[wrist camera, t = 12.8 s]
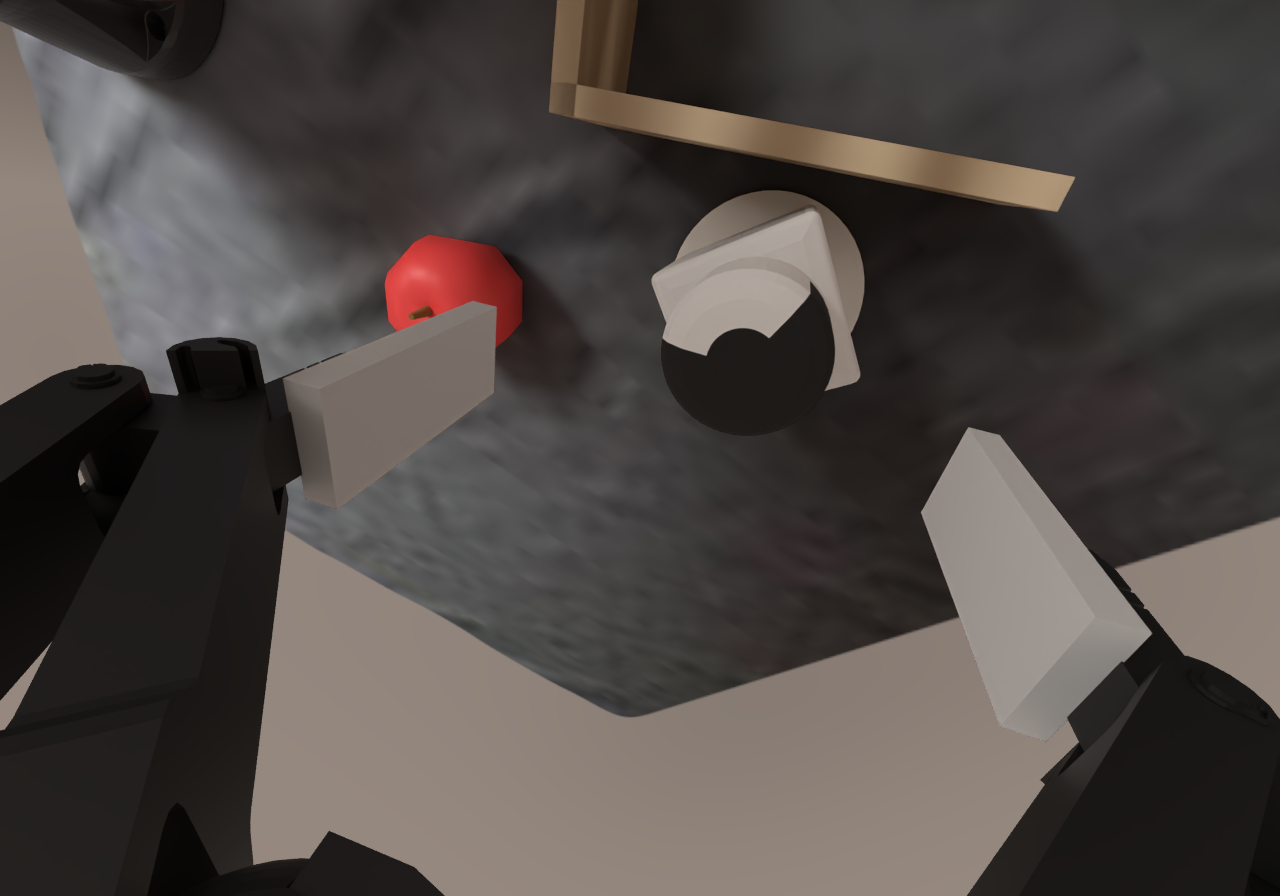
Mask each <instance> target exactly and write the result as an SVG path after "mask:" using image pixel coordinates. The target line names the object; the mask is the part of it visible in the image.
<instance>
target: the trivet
mask: <svg viewBox="0 0 1280 896" xmlns="http://www.w3.org/2000/svg"><path fill="white" fill-rule="evenodd" d="M811 204H812V205H814V206H816V208H817V210H818V212H819V214H820V216H821V219H822V223H823V227H824V231H825V235H826V239H827V243H828V247H829V251H830V255H831V259H832V263H833V266H834V270H835V274H836V278H837V282H838V286H839V290H840V294H841V298H842V302H843V306H844V310H845V314H846V318H847V322H848V326H849V330H850V333H851V332H852V330H853V328H854V326H855V324H856V321H857V319H858V316H859V313H860V310H861V307H862V302H863V296H864V270H863V263H862V259H861V255H860V252H859V250H858V247H857V245H856V242H855V240H854V238H853V237H852V235H851V233H850V232H849V230H848V228H847V227H846V226H845V225H844V224H843V222H842V221H841V220H840V219H839V218H838V217H837V216H836V215H835V214H834V213H833V212H832V211H831V210H829V209H828V208H827V207H825V206H824V205H822V204H821V203H819V202H818V201H815V200H813V199H811V198H809V197H807V196H804V195H801V194H797V193H794V192H788V191H780V190H765V191H758V192H752V193H748V194H745V195H742V196H738V197H736V198H734V199H731V200H729V201H727V202H725V203H723V204H722V205H720V206H718V207H717V208H715V209H714V210H712V211H711V212H710V213H709V214H707V215H706V216H705V217H704V218H703V219H702V220H701V221H700V222H699V223H698V224H697V225H696V226H695V227H694V228H693V229H692V231H691V232H690V234H689V235H688V236H687V238H686V239H685V241H684V243H683V245H682V246H681V248H680V250H679V253H678V255H677V257H676V260H677V259H679V258H681V257H682V256H684V255H685V254H688V253H690V252H693V251H695V250H698V249H700V248H703V247H705V246H708V245H710V244H712V243H715V242H717V241H720V240H722V239H725V238H727V237H730V236H732V235H735V234H737V233H740V232H742V231H745V230H747V229H750V228H752V227H754V226H757V225H759V224H762V223H764V222H767V221H769V220H772V219H774V218H777V217H779V216H782V215H784V214H787V213H789V212H792V211H794V210H797V209H799V208H801V207H804V206H806V205H811ZM676 260H675V261H676Z"/></svg>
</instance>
